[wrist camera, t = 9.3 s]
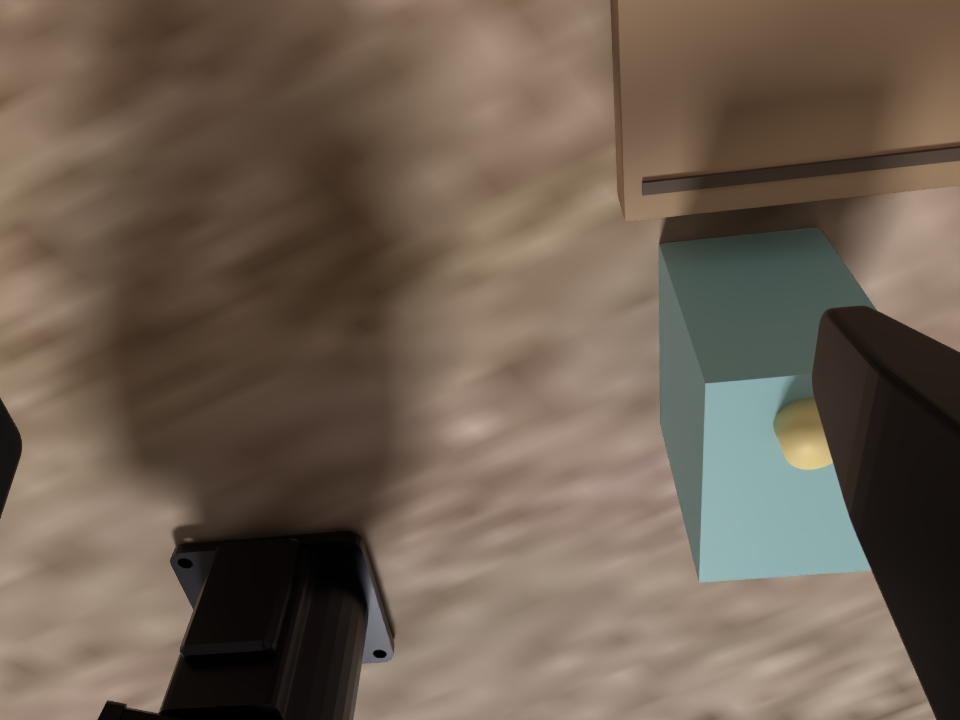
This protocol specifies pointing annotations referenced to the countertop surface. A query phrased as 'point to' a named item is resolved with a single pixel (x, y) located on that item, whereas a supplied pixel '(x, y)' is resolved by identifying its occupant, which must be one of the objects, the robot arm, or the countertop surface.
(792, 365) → the teal box with knob
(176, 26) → the countertop surface
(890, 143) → the board
